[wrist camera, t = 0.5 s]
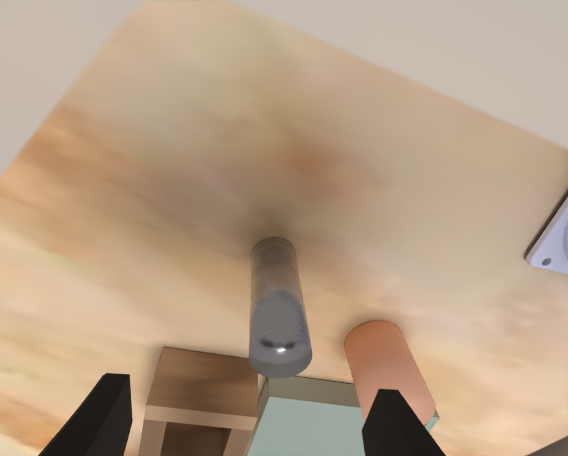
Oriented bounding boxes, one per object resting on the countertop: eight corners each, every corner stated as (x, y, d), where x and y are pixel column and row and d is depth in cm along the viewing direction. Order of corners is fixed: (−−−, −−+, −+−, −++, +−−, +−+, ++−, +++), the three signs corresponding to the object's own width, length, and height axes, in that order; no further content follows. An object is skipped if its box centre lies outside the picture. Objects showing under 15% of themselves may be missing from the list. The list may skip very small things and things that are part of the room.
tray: (428, 394, 26) (439, 417, 25) (372, 477, 31) (378, 501, 30) (268, 372, 24) (269, 396, 23) (235, 465, 29) (233, 490, 28)
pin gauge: (300, 242, 20) (320, 339, 13) (288, 277, 21) (301, 382, 15) (257, 233, 19) (257, 328, 13) (247, 270, 20) (242, 374, 14)
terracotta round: (412, 325, 23) (448, 396, 19) (388, 366, 25) (417, 440, 20) (356, 316, 22) (381, 387, 18) (336, 358, 24) (354, 433, 20)
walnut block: (257, 360, 24) (257, 417, 20) (238, 417, 26) (235, 477, 23) (163, 347, 23) (146, 404, 19) (153, 408, 25) (136, 469, 22)
